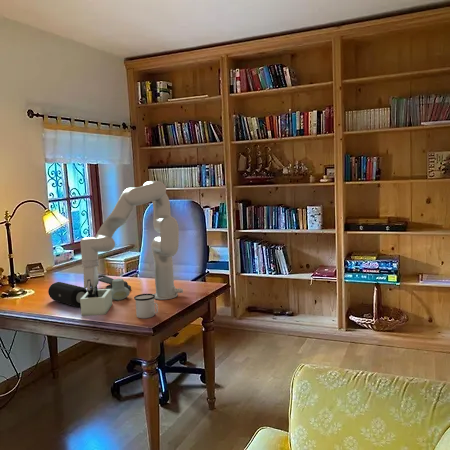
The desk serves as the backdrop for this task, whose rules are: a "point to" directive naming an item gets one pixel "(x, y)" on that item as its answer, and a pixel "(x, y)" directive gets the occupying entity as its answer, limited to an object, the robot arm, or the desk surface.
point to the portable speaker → (66, 293)
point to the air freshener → (119, 290)
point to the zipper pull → (109, 281)
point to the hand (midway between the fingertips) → (93, 300)
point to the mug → (145, 305)
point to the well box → (96, 303)
